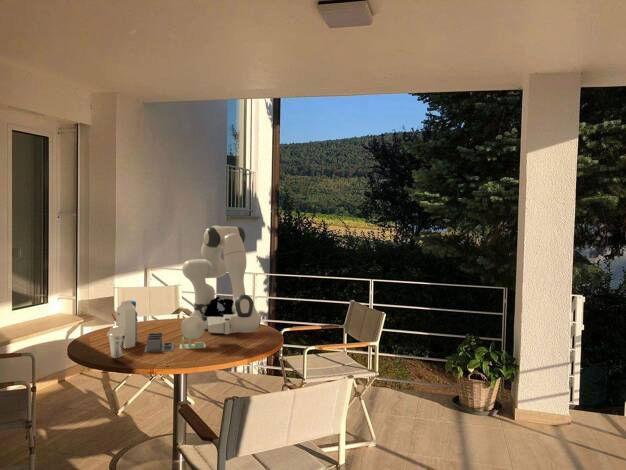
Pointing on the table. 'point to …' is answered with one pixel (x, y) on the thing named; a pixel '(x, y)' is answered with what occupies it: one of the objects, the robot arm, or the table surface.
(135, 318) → the beverage bottle
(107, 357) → the table surface
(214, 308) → the bowl of black rocks
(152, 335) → the dish rack
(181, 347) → the plate stand
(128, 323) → the milk
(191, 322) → the plate
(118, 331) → the cup with straw
